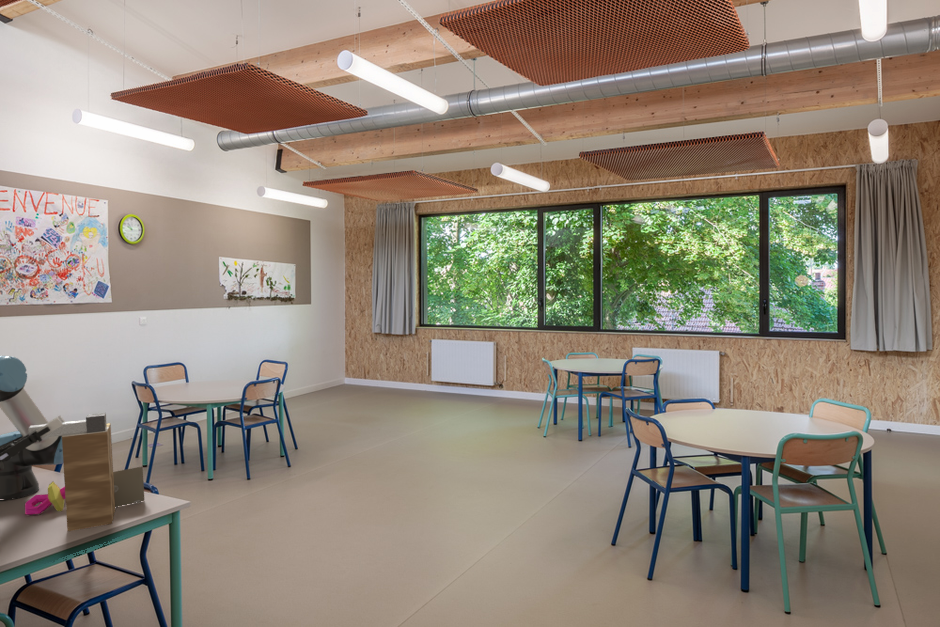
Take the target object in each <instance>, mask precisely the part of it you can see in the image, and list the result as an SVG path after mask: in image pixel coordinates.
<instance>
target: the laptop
mask: <svg viewBox="0 0 940 627" xmlns="http://www.w3.org/2000/svg"><path fill="white" fill-rule="evenodd" d="M143 468H144V467H143V466H139V467H132V468H127V469H122V470H117V471H113V478H114V496H115V507H118V506H122V505H127V504H132V503H136V502H141V501H144V502H145V484H144V469H143ZM141 503H142V502H141ZM136 504H137V503H136ZM132 505H133V504H132ZM118 508H119V507H118Z"/></svg>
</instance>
